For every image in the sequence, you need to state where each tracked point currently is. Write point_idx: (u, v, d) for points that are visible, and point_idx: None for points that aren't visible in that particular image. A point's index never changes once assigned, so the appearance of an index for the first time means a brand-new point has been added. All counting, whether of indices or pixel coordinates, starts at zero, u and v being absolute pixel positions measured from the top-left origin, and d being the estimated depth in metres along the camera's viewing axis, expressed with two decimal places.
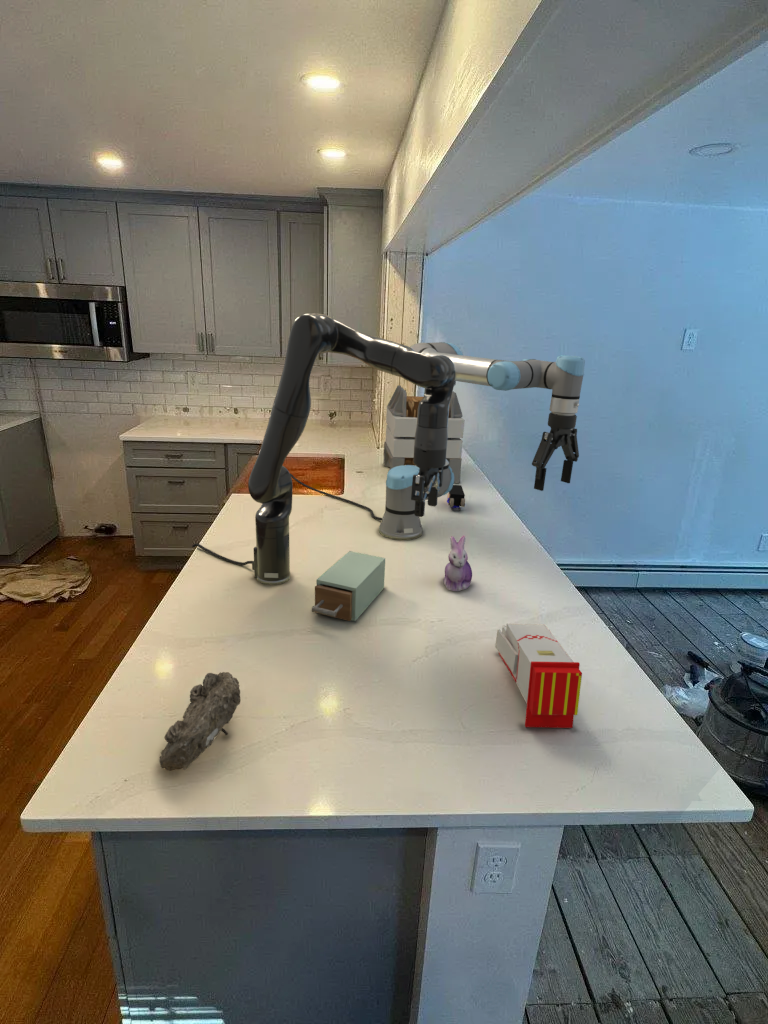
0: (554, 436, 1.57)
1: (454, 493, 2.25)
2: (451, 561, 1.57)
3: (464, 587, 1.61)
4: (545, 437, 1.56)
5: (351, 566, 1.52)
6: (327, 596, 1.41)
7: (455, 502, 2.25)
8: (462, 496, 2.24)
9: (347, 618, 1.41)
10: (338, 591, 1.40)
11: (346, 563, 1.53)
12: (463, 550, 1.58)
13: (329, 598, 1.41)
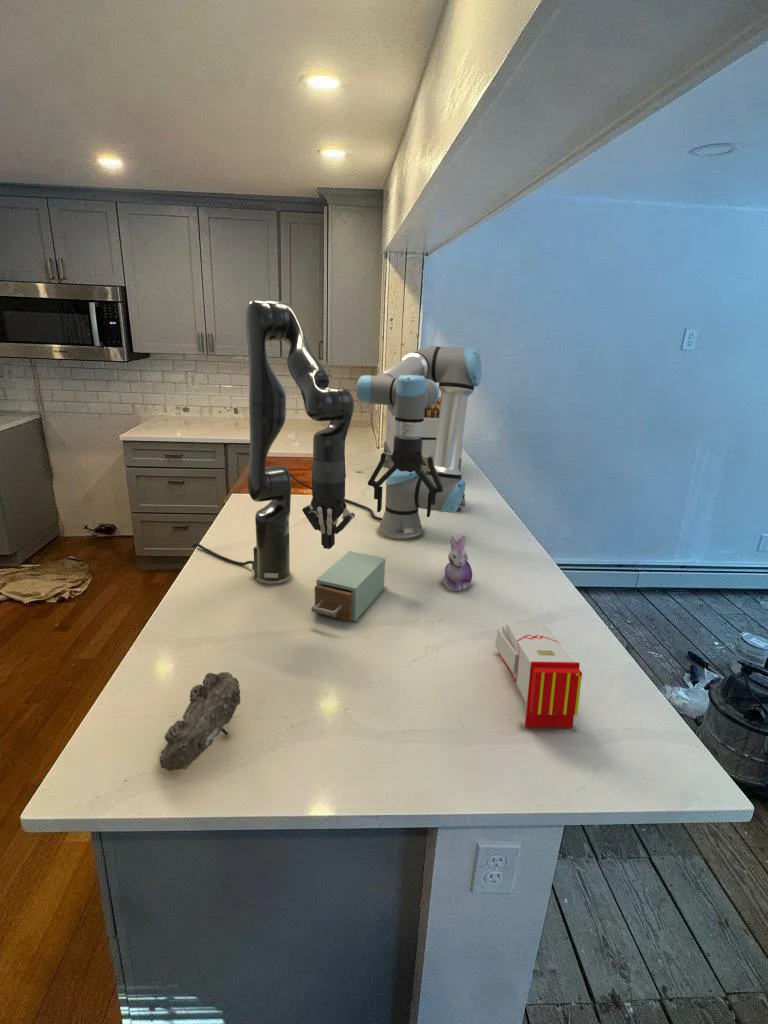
0: (391, 458, 1.50)
1: None
2: (451, 561, 1.57)
3: (464, 587, 1.61)
4: None
5: (351, 566, 1.52)
6: (327, 596, 1.41)
7: None
8: None
9: (347, 618, 1.41)
10: (338, 591, 1.40)
11: (346, 563, 1.53)
12: (463, 550, 1.58)
13: (329, 598, 1.41)
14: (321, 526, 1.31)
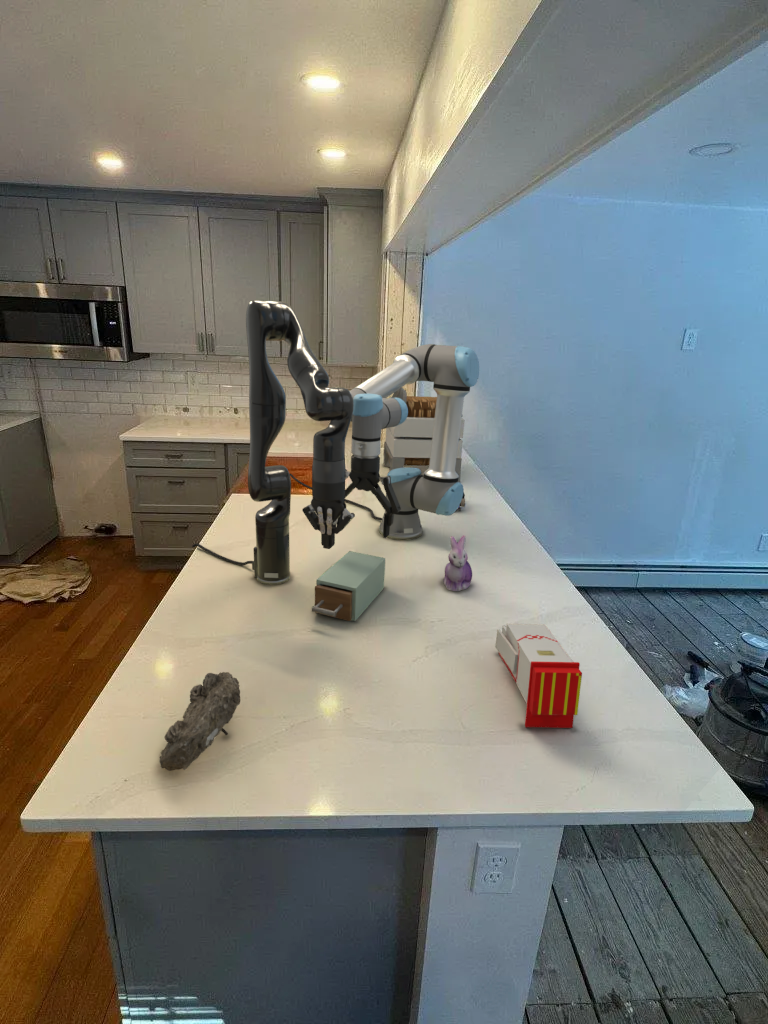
0: (349, 476, 1.49)
1: None
2: (451, 561, 1.57)
3: (464, 587, 1.61)
4: None
5: (351, 566, 1.52)
6: (327, 596, 1.41)
7: None
8: None
9: (347, 618, 1.41)
10: (338, 591, 1.40)
11: (346, 563, 1.53)
12: (463, 550, 1.58)
13: (329, 598, 1.41)
14: (321, 526, 1.31)
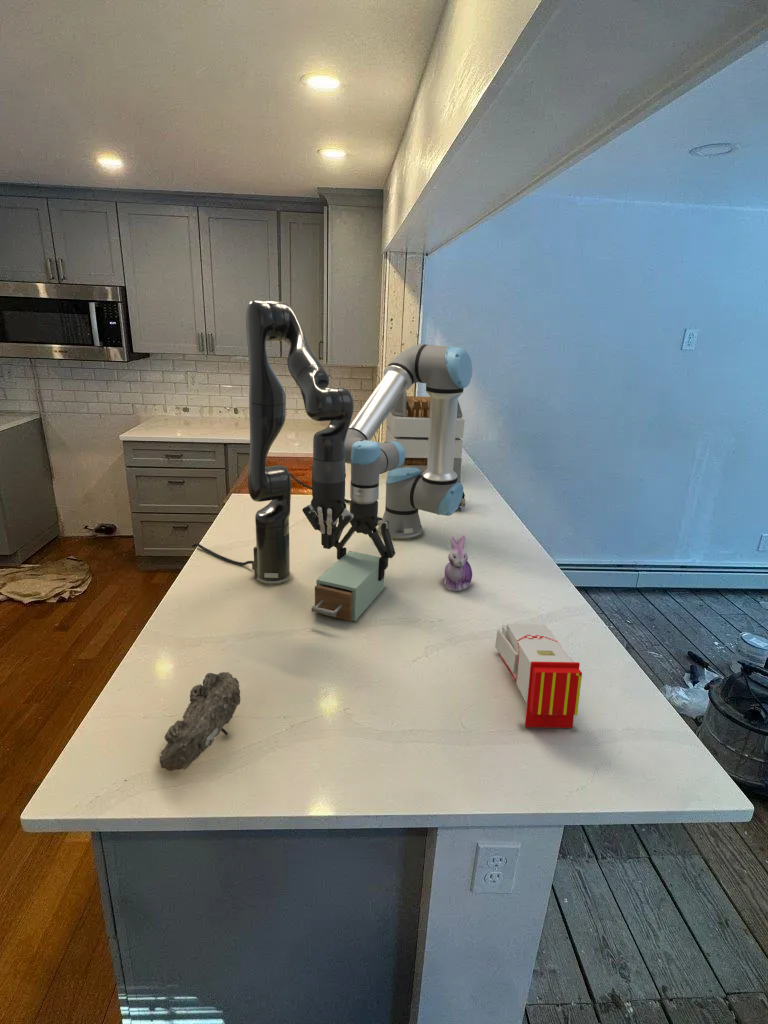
0: None
1: None
2: (451, 561, 1.57)
3: (464, 587, 1.61)
4: None
5: (351, 566, 1.52)
6: (327, 596, 1.41)
7: None
8: (462, 496, 2.24)
9: (347, 618, 1.41)
10: (338, 591, 1.40)
11: (346, 563, 1.53)
12: (463, 550, 1.58)
13: (329, 598, 1.41)
14: (321, 526, 1.31)
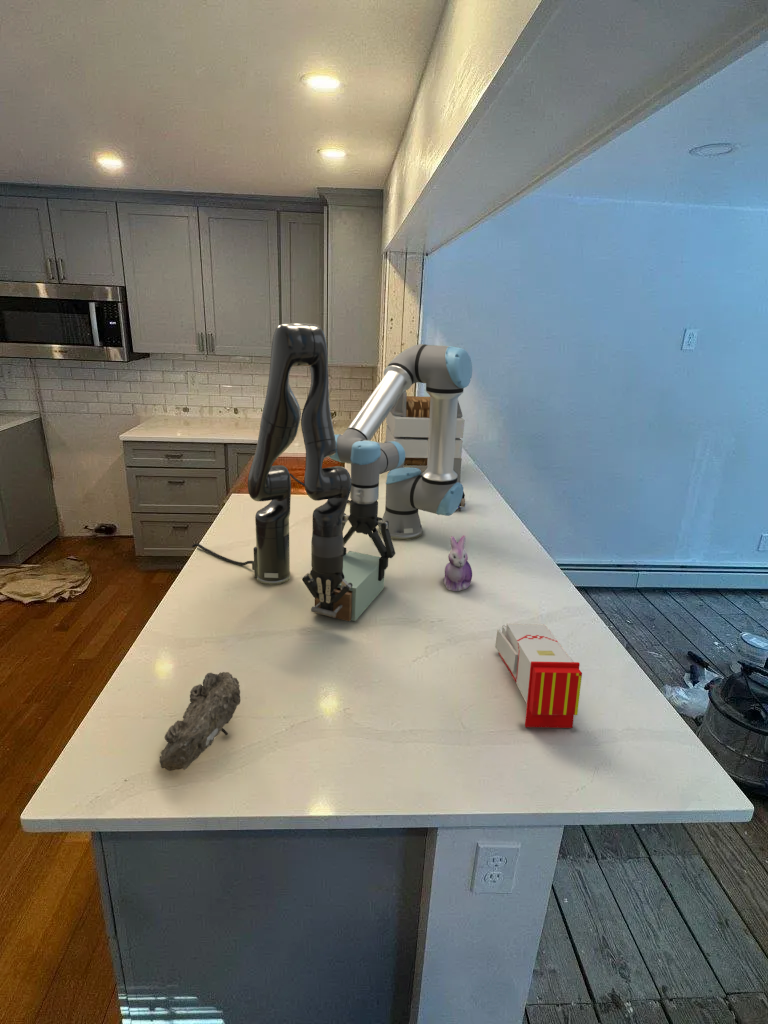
0: (348, 519, 1.53)
1: None
2: (451, 561, 1.57)
3: (464, 587, 1.61)
4: None
5: (351, 566, 1.52)
6: None
7: None
8: (462, 496, 2.24)
9: (347, 618, 1.41)
10: (338, 591, 1.40)
11: (346, 563, 1.53)
12: (463, 550, 1.58)
13: None
14: (320, 595, 1.37)
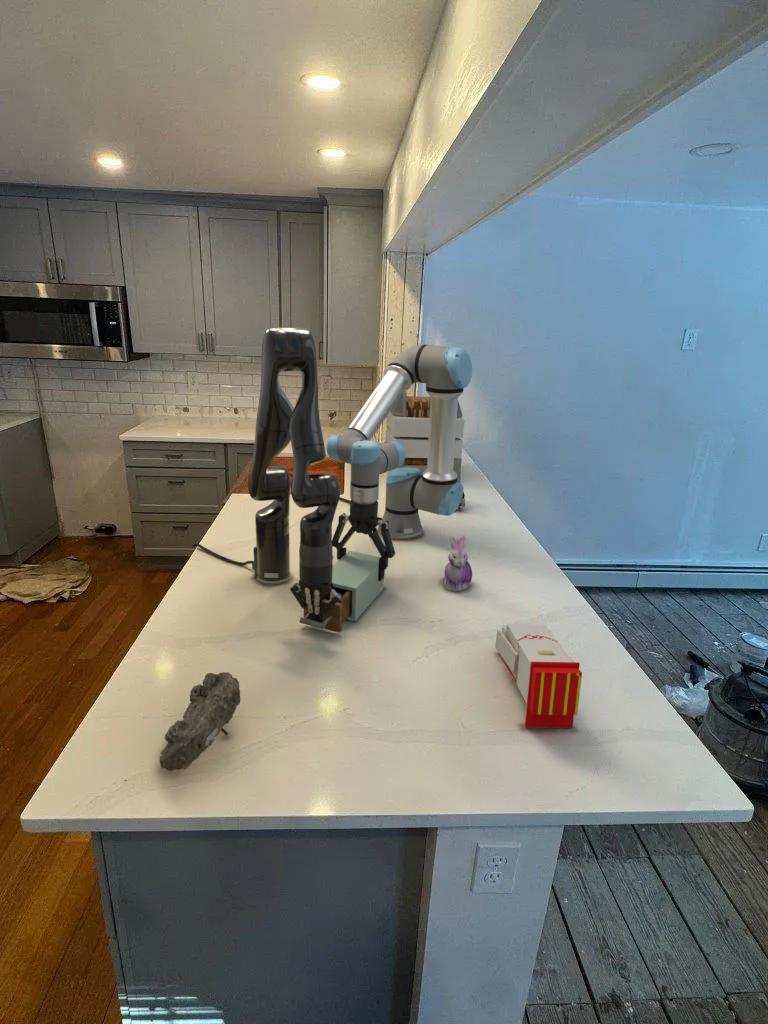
0: (348, 519, 1.53)
1: None
2: (451, 561, 1.57)
3: (464, 587, 1.61)
4: None
5: (351, 566, 1.52)
6: None
7: None
8: (462, 496, 2.24)
9: (337, 629, 1.36)
10: (327, 602, 1.35)
11: (346, 563, 1.53)
12: (463, 550, 1.58)
13: None
14: (309, 605, 1.32)
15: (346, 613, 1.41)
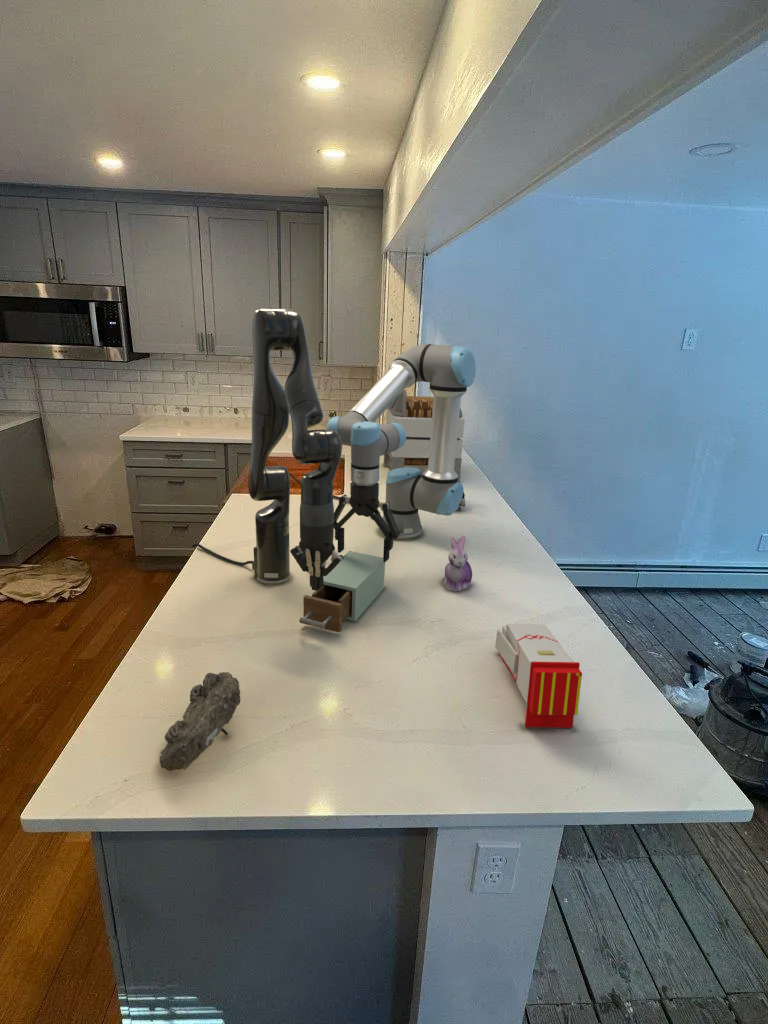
0: (349, 502, 1.51)
1: None
2: (451, 561, 1.57)
3: (464, 587, 1.61)
4: None
5: (351, 566, 1.51)
6: (316, 607, 1.36)
7: None
8: (462, 496, 2.24)
9: (337, 630, 1.36)
10: (327, 602, 1.35)
11: (346, 563, 1.53)
12: (463, 550, 1.58)
13: (318, 609, 1.36)
14: (309, 568, 1.29)
15: (346, 613, 1.41)
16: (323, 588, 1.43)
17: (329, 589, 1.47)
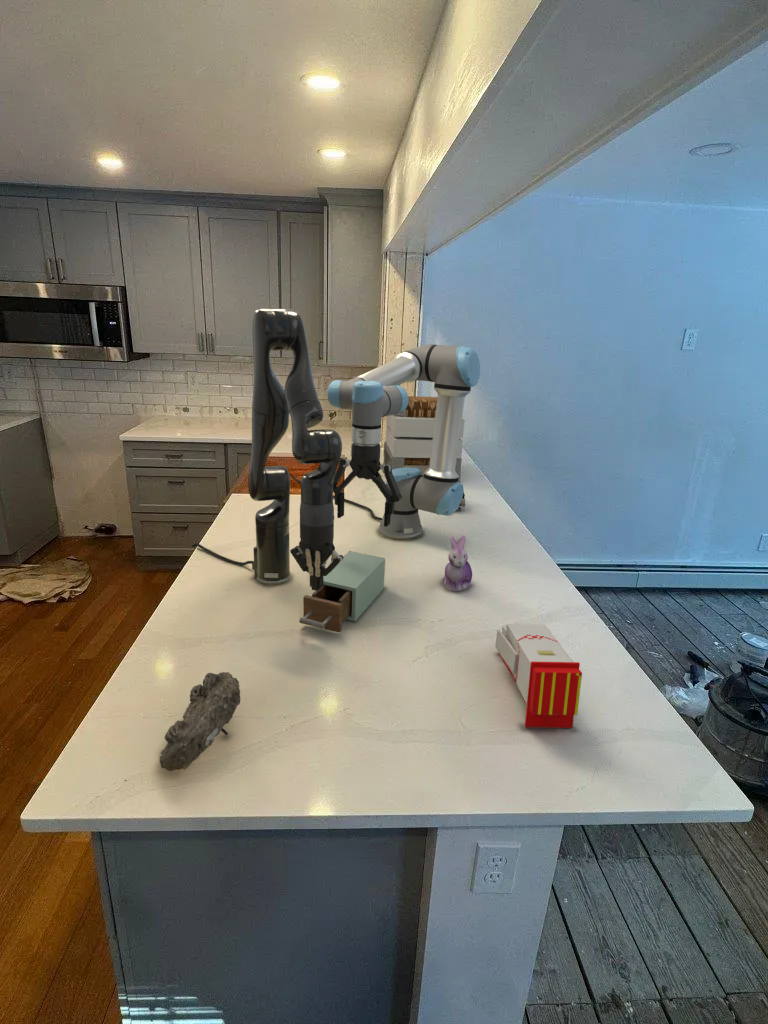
0: (349, 464, 1.48)
1: None
2: (451, 561, 1.57)
3: (464, 587, 1.61)
4: None
5: (351, 566, 1.51)
6: (316, 607, 1.36)
7: None
8: None
9: (337, 630, 1.36)
10: (327, 602, 1.35)
11: (346, 563, 1.53)
12: (463, 550, 1.58)
13: (318, 609, 1.36)
14: (309, 568, 1.29)
15: (346, 613, 1.41)
16: (323, 588, 1.43)
17: (329, 589, 1.47)
